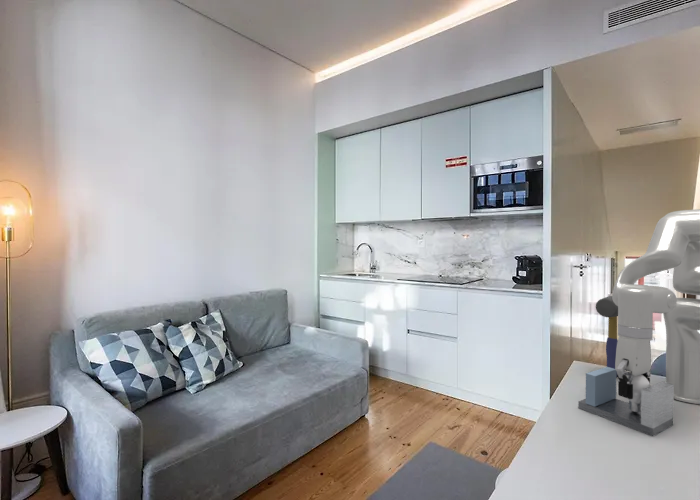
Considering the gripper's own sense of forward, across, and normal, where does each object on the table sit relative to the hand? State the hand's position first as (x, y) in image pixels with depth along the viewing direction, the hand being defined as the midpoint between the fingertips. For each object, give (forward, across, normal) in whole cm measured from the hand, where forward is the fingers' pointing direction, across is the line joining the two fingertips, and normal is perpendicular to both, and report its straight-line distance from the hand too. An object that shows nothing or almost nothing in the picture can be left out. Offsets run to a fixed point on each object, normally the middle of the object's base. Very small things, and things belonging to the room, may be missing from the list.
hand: (634, 393), depth 98 cm
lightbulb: (+6, -1, 0) cm, 6 cm away
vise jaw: (+5, 0, -8) cm, 10 cm away
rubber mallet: (+7, -31, -20) cm, 37 cm away
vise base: (+7, 0, -2) cm, 8 cm away
